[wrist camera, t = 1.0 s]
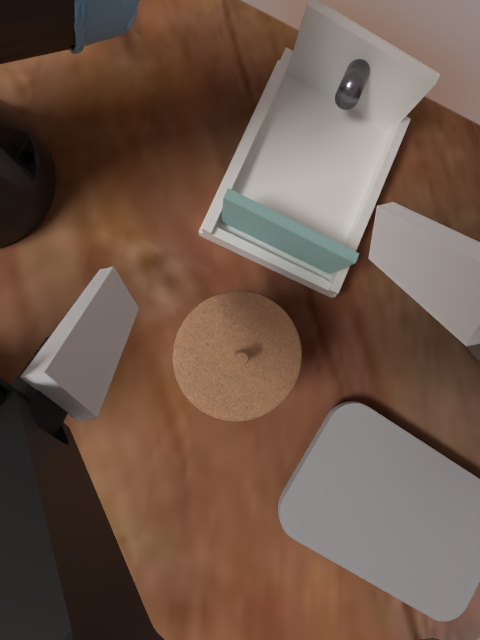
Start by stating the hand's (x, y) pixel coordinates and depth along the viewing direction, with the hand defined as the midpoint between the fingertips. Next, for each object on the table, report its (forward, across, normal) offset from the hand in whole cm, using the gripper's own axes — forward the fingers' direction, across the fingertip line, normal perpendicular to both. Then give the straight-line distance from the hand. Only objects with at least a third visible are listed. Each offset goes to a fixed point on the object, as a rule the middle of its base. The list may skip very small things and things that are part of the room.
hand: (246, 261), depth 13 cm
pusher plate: (+14, +4, -6) cm, 16 cm away
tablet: (-4, +11, -33) cm, 35 cm away
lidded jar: (+8, -3, -14) cm, 16 cm away
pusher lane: (+20, +9, -2) cm, 22 cm away
